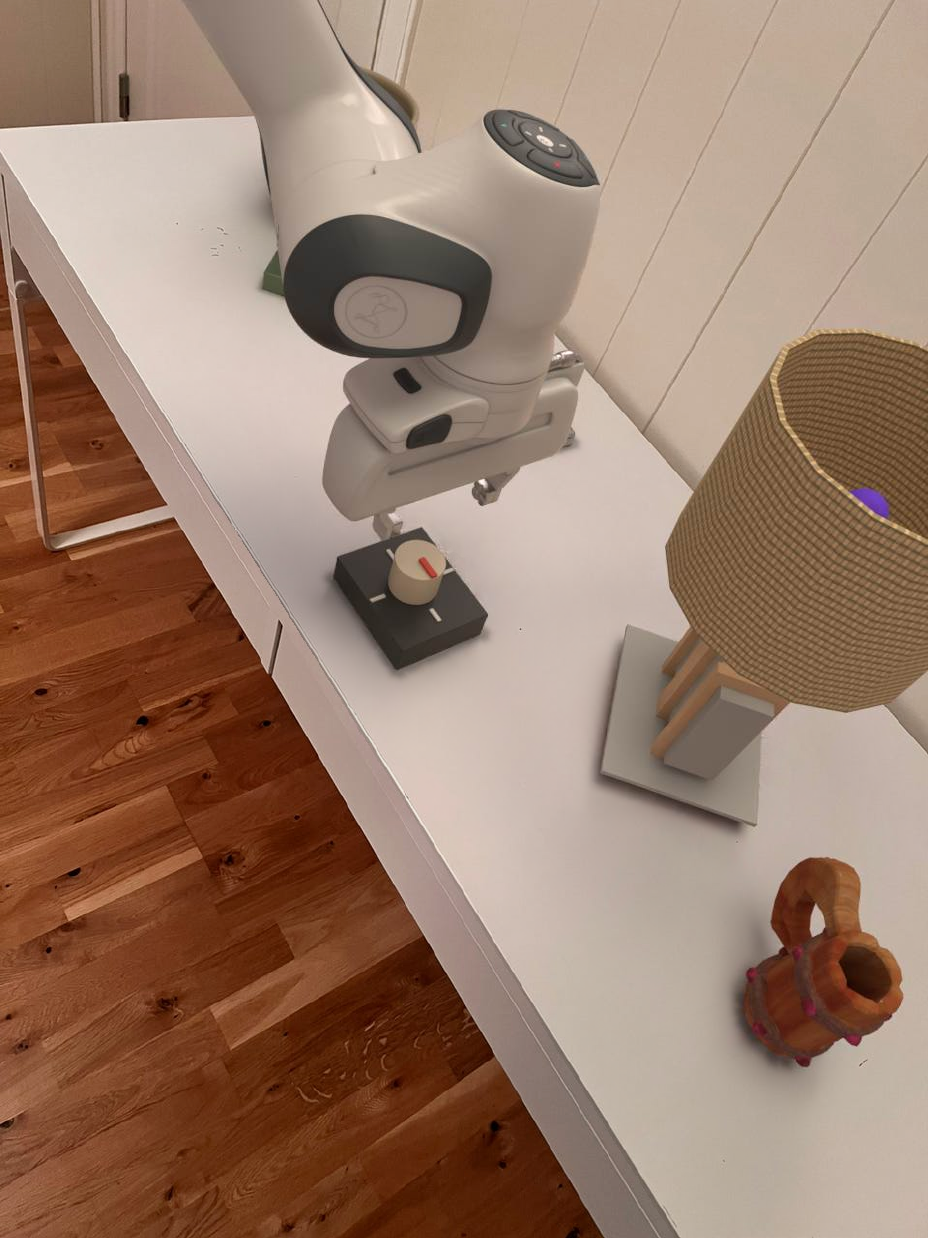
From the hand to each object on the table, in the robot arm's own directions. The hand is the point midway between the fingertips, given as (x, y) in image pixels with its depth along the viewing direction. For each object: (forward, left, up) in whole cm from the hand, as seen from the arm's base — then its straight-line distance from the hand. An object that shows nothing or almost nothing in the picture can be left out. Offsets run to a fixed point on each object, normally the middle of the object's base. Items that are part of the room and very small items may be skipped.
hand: (436, 515), depth 71 cm
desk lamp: (+26, -5, -12) cm, 29 cm away
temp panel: (0, 0, -12) cm, 12 cm away
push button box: (-20, +43, -12) cm, 49 cm away
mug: (+34, -25, -12) cm, 44 cm away
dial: (0, 0, -9) cm, 9 cm away
